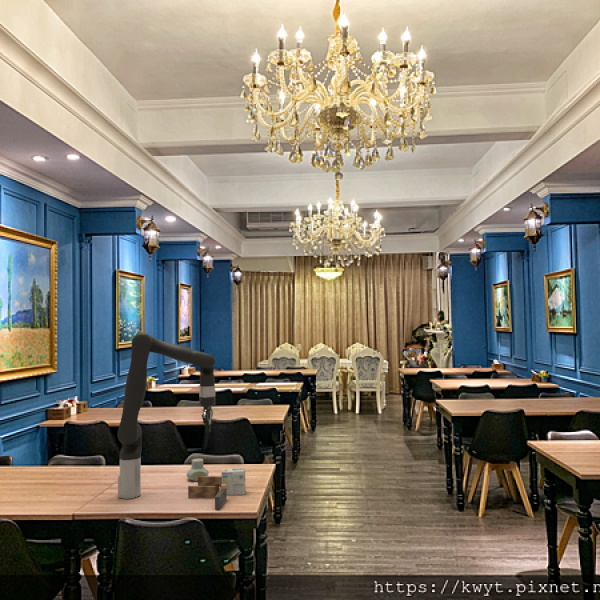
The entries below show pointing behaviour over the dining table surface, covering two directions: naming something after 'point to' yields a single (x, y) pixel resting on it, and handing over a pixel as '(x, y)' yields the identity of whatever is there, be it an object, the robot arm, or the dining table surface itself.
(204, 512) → the dining table surface
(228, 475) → the light bulb box
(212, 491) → the rails
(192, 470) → the air freshener
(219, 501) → the bar
